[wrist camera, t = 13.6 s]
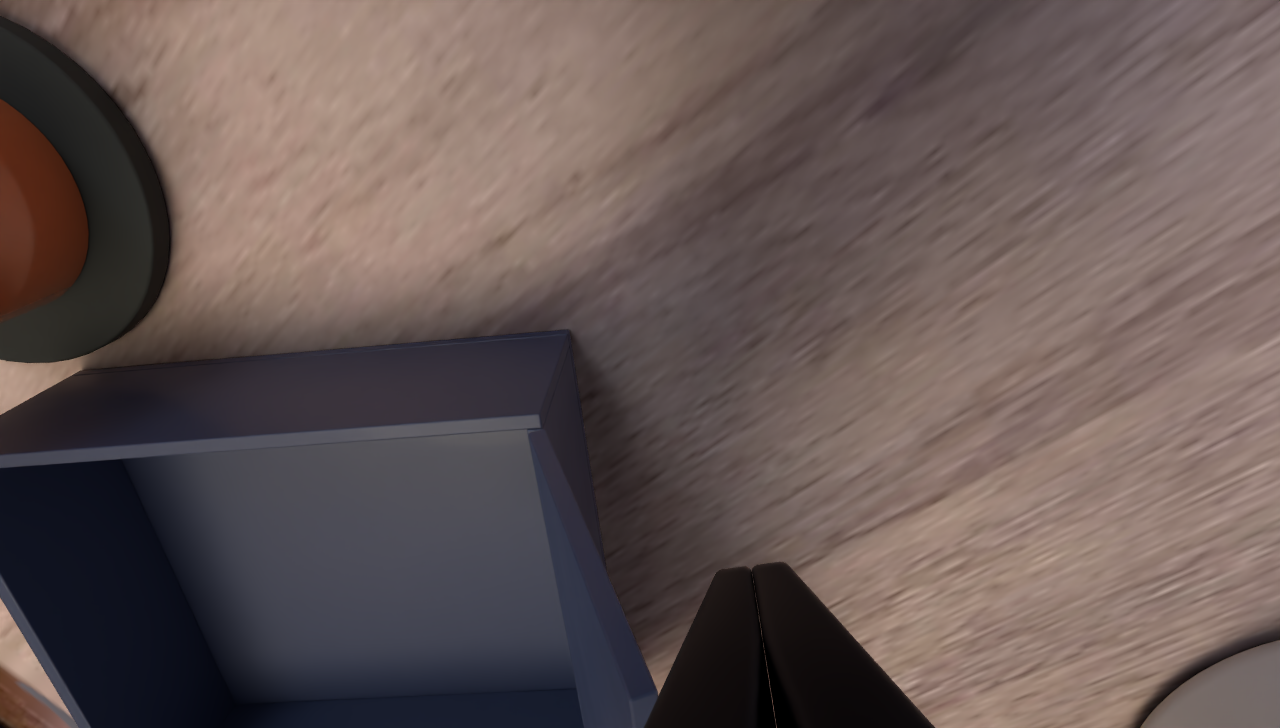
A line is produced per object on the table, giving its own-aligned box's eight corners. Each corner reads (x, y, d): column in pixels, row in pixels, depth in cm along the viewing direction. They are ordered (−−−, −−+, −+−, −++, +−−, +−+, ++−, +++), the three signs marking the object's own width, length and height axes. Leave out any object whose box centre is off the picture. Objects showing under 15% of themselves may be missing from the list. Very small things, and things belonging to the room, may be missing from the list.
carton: (569, 328, 21) (539, 413, 17) (624, 685, 27) (615, 825, 23) (79, 370, 23) (-83, 461, 18) (234, 702, 29) (145, 839, 24)
